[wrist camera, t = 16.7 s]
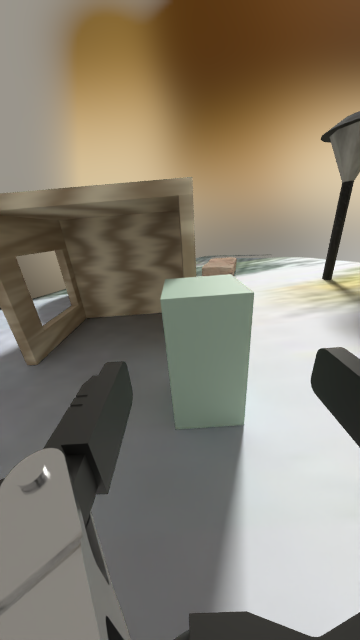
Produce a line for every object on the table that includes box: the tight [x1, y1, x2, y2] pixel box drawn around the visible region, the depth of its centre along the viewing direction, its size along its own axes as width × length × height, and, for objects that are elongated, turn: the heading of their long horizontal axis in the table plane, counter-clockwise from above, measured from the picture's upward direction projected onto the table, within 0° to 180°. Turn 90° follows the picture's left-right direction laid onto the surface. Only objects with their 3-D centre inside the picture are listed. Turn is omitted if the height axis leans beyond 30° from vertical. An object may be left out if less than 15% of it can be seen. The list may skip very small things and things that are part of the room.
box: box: [0, 177, 196, 365], centre depth 27 cm, size 20×15×17 cm
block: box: [160, 274, 254, 430], centre depth 15 cm, size 5×5×10 cm
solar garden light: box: [321, 112, 360, 280], centre depth 43 cm, size 12×12×30 cm
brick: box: [202, 258, 236, 276], centre depth 60 cm, size 16×8×5 cm, turn 163°
